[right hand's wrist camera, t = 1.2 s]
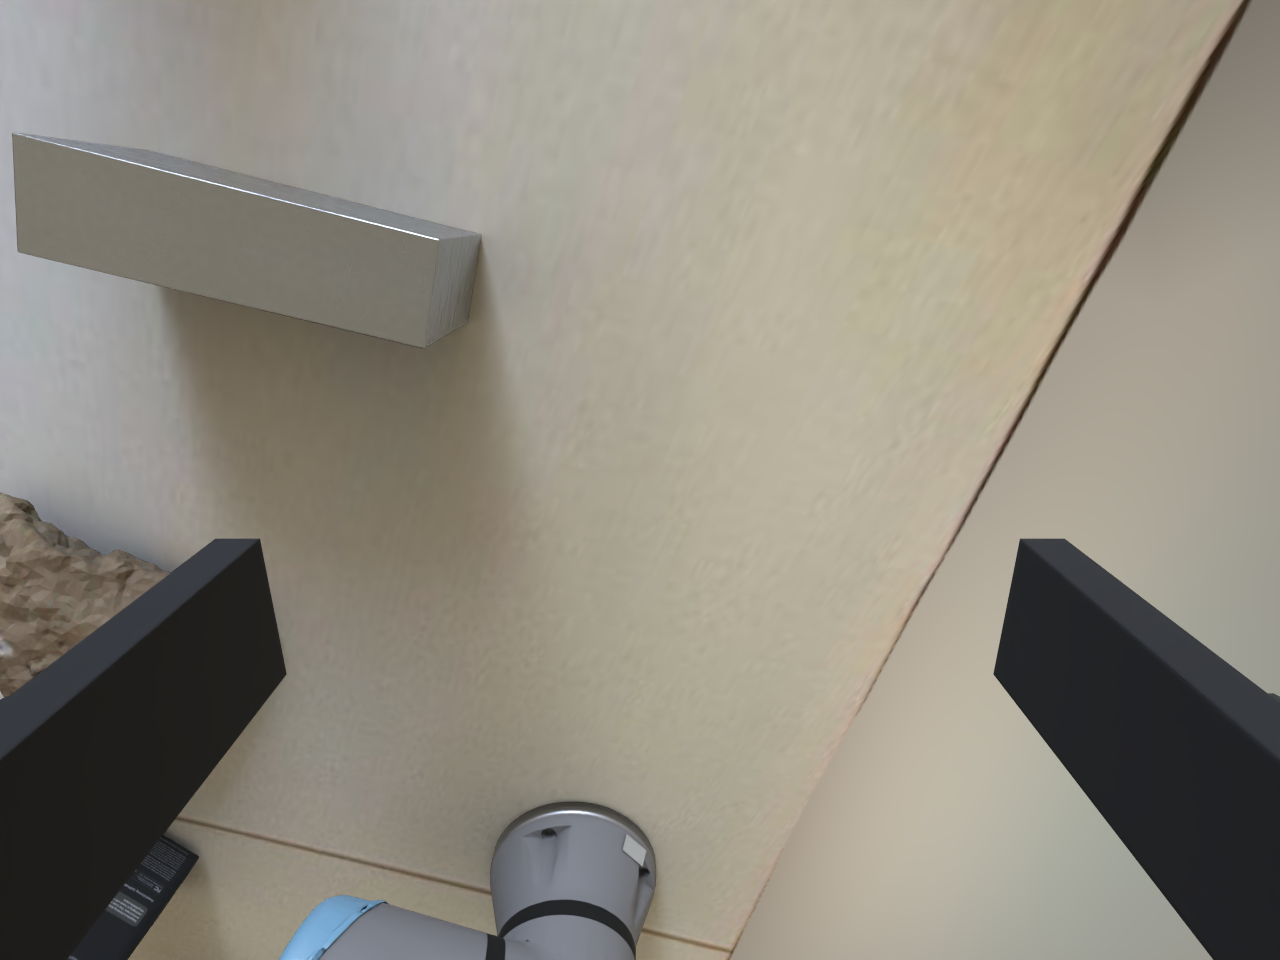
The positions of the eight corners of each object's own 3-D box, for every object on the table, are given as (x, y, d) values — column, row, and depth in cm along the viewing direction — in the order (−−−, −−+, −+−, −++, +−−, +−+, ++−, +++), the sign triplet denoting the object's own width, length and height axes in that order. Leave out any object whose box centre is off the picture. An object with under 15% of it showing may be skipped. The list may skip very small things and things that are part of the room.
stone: (-69, 647, 56) (-126, 685, 51) (10, 481, 55) (-39, 501, 50) (211, 734, 63) (188, 776, 58) (287, 587, 62) (271, 615, 57)
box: (481, 234, 49) (439, 239, 39) (467, 322, 51) (424, 349, 41) (147, 150, 48) (11, 131, 37) (146, 244, 50) (16, 252, 39)
